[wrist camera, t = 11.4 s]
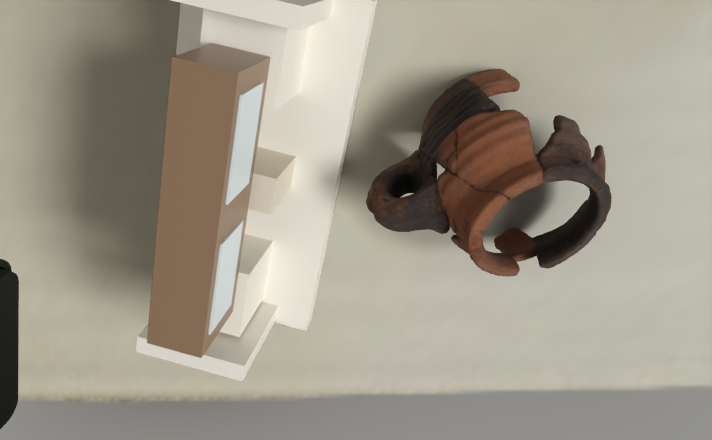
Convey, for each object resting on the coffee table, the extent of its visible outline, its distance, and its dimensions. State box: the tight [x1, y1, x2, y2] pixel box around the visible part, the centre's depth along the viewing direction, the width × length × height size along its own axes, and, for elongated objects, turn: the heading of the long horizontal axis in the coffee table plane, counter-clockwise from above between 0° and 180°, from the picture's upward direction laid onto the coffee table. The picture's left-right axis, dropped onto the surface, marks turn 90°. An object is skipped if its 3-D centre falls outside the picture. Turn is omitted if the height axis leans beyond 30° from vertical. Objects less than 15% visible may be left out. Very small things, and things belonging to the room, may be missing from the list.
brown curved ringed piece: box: [366, 69, 611, 276], centre depth 34 cm, size 12×10×8 cm
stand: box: [136, 0, 377, 381], centre depth 35 cm, size 20×10×8 cm, turn 168°
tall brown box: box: [147, 43, 271, 358], centre depth 31 cm, size 14×3×4 cm, turn 168°
